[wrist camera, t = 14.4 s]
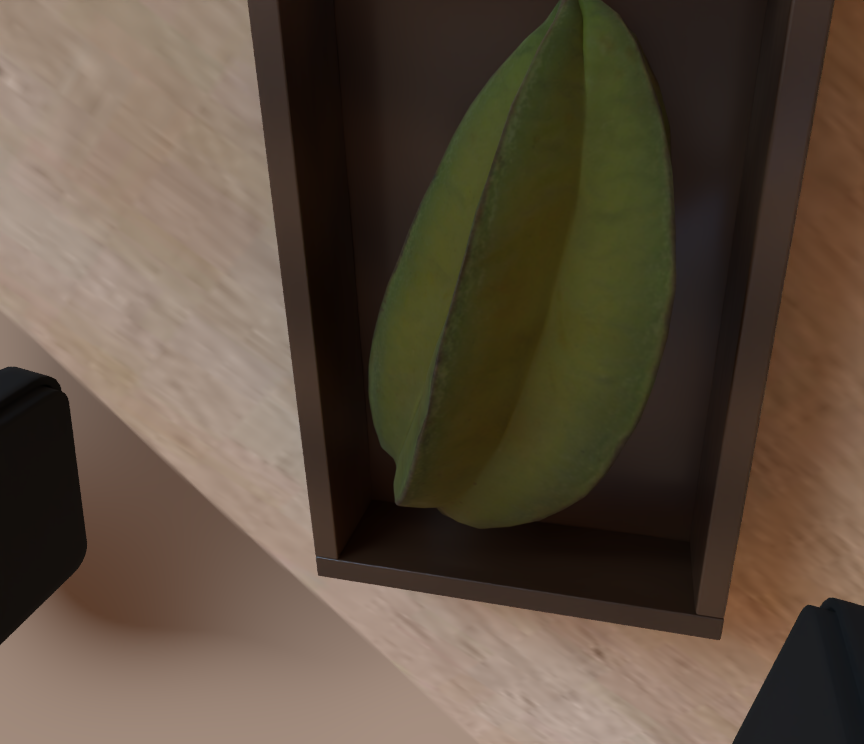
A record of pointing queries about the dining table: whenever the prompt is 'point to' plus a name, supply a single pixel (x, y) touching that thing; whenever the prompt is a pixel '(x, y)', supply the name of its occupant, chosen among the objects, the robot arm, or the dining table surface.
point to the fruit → (532, 282)
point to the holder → (691, 316)
